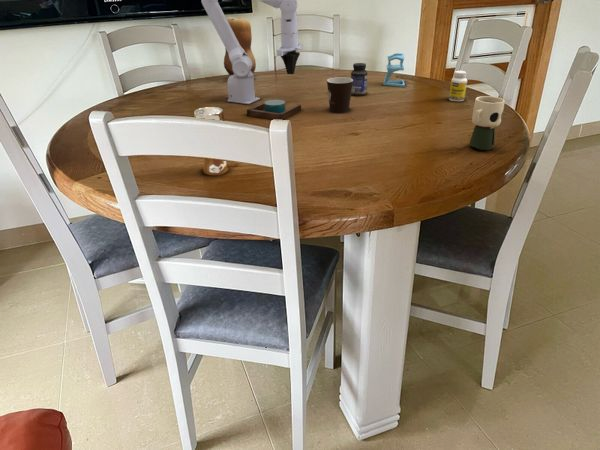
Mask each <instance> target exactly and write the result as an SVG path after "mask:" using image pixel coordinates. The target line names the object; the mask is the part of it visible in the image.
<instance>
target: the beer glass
mask: <svg viewBox="0 0 600 450" xmlns="http://www.w3.org/2000/svg"><path fill="white" fill-rule="evenodd" d="M193 114H194V118H195V117H196V118H205V119H215V120H223V121H225V116H224V109H223V108H221V107H217V106H206V107H200V108H197V109H195V110H194V113H193ZM225 122H226V121H225ZM202 160H203V165H202V166H203V168H202V171H203V173H204V174H205V175H207V176H221V175H223V174H226V173H227V172H228V171H229V166H228V162H227V160H226V161H222V160H215V159H207V158H203V157H202Z"/></svg>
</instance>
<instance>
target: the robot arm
mask: <svg viewBox="0 0 600 450" xmlns="http://www.w3.org/2000/svg"><path fill="white" fill-rule="evenodd" d="M200 2H201V5H202V7H203V9H204V10H205V12H206V14H207V16H208V18H209V20H210V21H211V23H212V25H213V27H214V29H215V31H216V33H217V35H218V37H219V38H220V40H221V42H222V44H223V46H224V49H225V48H226V50H227V52H228V54H229V58H230V61H231V63H232V70H233V72H234V75H231V76H230V75H229V77H228V78H227V82H226V86H227V87H226V88H227V98H228V99H227V102H228V103H229V102H231V103H237V104H245V105H250V104H252V103H254V102H257V101H259V100H260V99H261V98H260V97H258V96H256V91H255V77H254V76H255V75H254V73H252V72H251V69H252V66H253V61H252V59H251V58H250V57H249V56H248V55H247V54H246V53H245V51H244V49H243V48H242V47H241V46H240V44H239V42H238V40H237V38H236V36H235V34H234V32H233V31H232V29H231V27H230V25H229V23H228V21H227V17H226V15H225V13H224V11H223V9H222V7H221V6H220V4H219V0H201V1H200ZM259 2H261V3H263V4H266V5H268V6H270V7H272V8H275V9H279V10H280V17H281V18H280V36H281V37H280V39H281V40H280V41H281V46H280V47H279V48H278V49H276V56H277V57H280V59H282V62H283V64H284V67H285V70H286V74H287V75H294V74H295V71H296V66H297V63H298V60H299V57H300V54H301V52H299V51H302V50H303V43H299V36H298V35H299V28H298V27H299V26H298V25H299V24H298V22H299V21H298V12H297V9H298V0H259ZM226 50H225V51H226Z"/></svg>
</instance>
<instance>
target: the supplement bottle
mask: <svg viewBox="0 0 600 450" xmlns="http://www.w3.org/2000/svg"><path fill="white" fill-rule="evenodd" d="M467 73H468V72H467V71H465V70H455V71H454V75H453V76H454V77H452V78H451V81H450V86H449V94H448V95H449V96H448V100H449V101H451V102H457V103H458V102H459V103H460V102H463V101H465V97H466V92H467V88H468V79H467V78H466V77H467Z"/></svg>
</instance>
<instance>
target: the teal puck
mask: <svg viewBox="0 0 600 450" xmlns="http://www.w3.org/2000/svg"><path fill="white" fill-rule="evenodd" d="M267 100H268V101H267ZM267 100H266V102H265V101H264V102H265V103H264V105H265V109H264V111H267V112H274V113H282V112H284V111H286V110H287V109H286V101H285V100H283V99H267Z"/></svg>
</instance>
